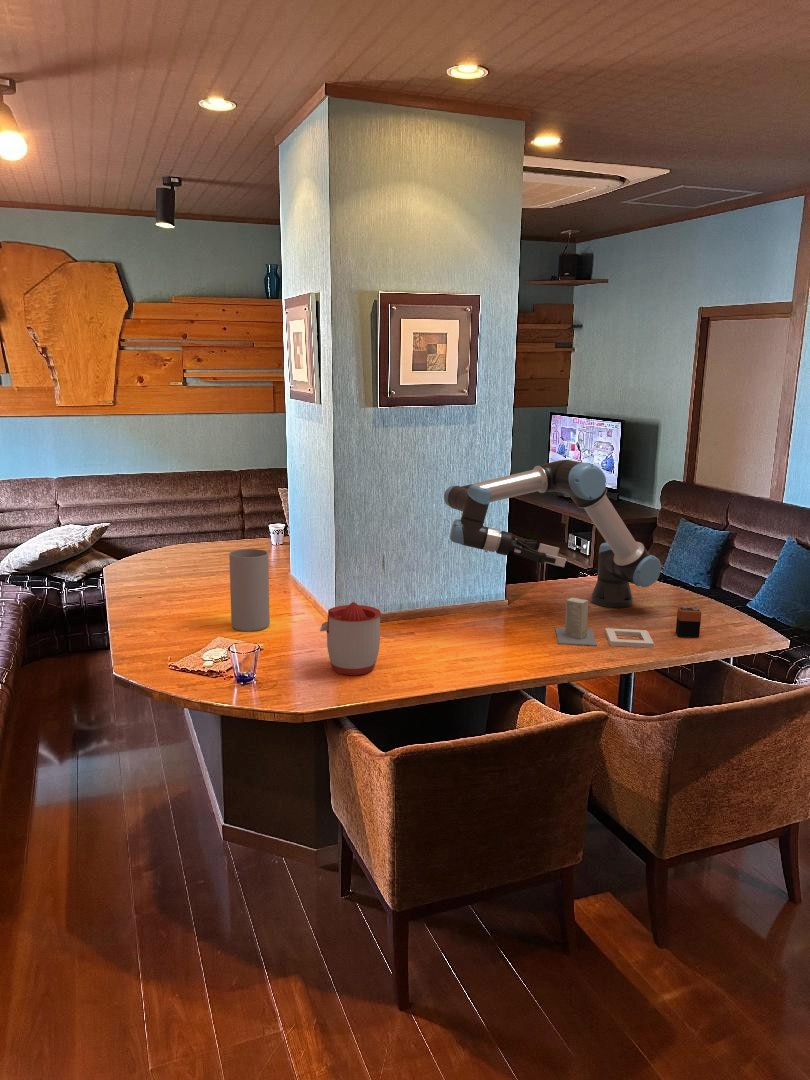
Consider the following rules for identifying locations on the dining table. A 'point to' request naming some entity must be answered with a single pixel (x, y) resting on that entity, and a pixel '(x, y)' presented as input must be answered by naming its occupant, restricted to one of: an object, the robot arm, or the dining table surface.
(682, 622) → the battery
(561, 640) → the grey mat
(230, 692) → the dining table surface
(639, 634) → the white square frame
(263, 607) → the cylinder vase
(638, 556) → the robot arm
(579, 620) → the skincare box
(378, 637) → the citrus juicer
